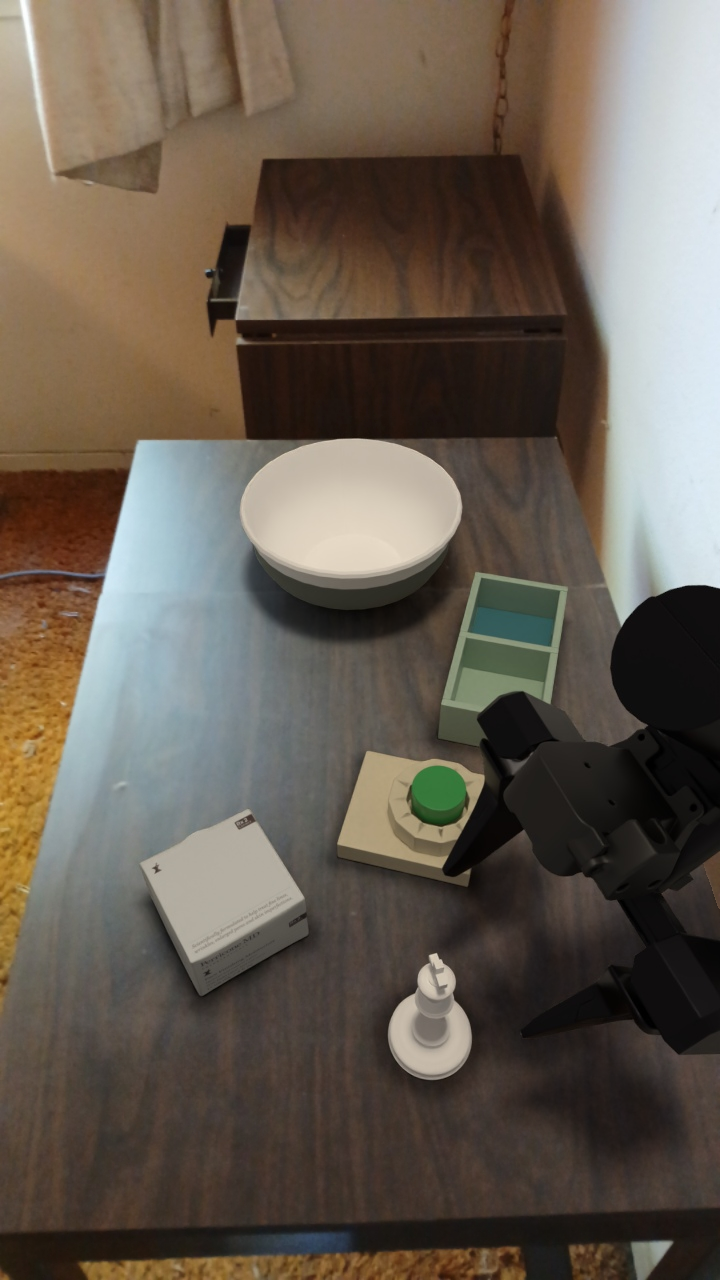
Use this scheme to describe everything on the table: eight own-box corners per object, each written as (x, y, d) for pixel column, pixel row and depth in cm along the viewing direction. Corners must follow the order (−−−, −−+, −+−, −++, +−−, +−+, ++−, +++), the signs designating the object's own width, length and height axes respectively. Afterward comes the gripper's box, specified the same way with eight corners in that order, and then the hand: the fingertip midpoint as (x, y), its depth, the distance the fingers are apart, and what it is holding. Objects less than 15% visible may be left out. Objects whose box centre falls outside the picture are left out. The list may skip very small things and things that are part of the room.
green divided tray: (471, 606, 77) (475, 571, 74) (560, 621, 76) (568, 586, 73) (437, 738, 67) (440, 704, 64) (539, 759, 66) (547, 725, 63)
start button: (468, 785, 61) (470, 771, 59) (459, 830, 58) (461, 815, 57) (417, 775, 61) (418, 760, 60) (405, 818, 59) (406, 804, 58)
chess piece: (402, 1091, 50) (407, 1025, 43) (378, 1006, 54) (378, 932, 46) (483, 1066, 51) (502, 997, 44) (455, 984, 54) (467, 908, 47)
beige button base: (490, 790, 64) (495, 761, 62) (471, 888, 59) (475, 861, 56) (366, 763, 66) (366, 735, 63) (337, 857, 61) (335, 829, 58)
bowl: (254, 659, 73) (243, 586, 67) (245, 518, 86) (235, 446, 80) (476, 636, 75) (485, 563, 69) (435, 501, 88) (439, 429, 82)
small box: (200, 1001, 54) (187, 965, 50) (150, 900, 59) (135, 860, 55) (312, 936, 57) (307, 898, 53) (256, 844, 61) (248, 803, 58)
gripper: (534, 570, 41) (317, 777, 47) (804, 928, 29) (469, 1152, 34) (643, 644, 49) (445, 814, 54) (893, 952, 37) (607, 1132, 42)
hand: (483, 949), depth 46 cm, fingers open, 9 cm apart
